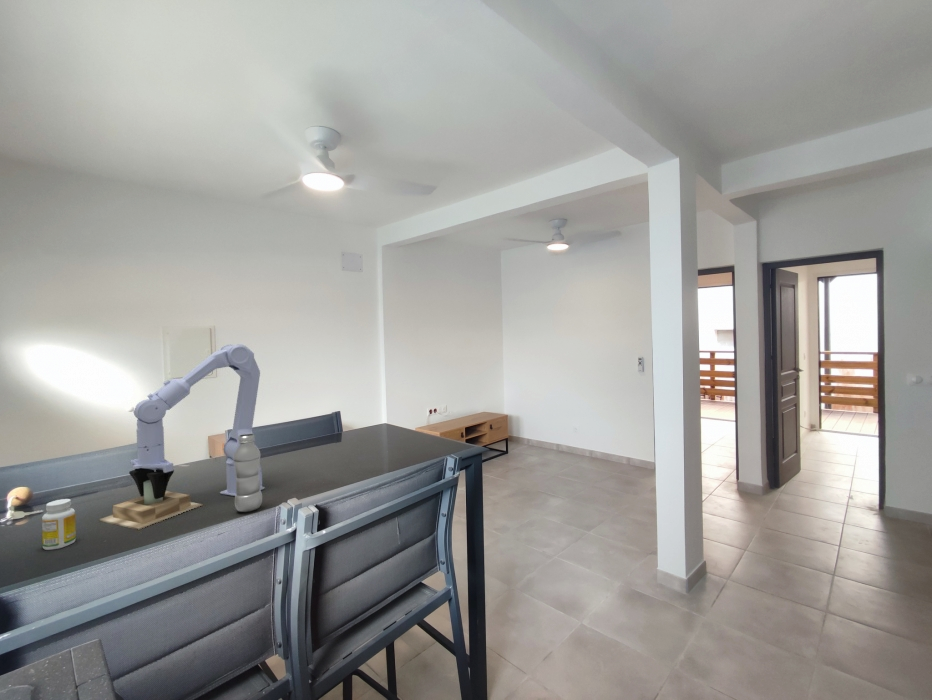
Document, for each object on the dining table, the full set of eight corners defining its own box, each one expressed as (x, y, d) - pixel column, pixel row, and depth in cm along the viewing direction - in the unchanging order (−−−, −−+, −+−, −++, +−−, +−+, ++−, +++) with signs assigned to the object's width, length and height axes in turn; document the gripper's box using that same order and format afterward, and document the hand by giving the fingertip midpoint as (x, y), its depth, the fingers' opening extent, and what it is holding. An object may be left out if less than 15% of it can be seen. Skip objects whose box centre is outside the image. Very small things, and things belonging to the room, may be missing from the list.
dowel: (167, 508, 114) (166, 478, 113) (153, 514, 110) (152, 483, 110) (154, 507, 114) (153, 478, 114) (140, 513, 111) (139, 483, 110)
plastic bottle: (268, 506, 114) (266, 433, 114) (247, 516, 108) (245, 438, 108) (249, 504, 117) (247, 431, 116) (228, 513, 110) (226, 437, 110)
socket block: (202, 505, 116) (202, 493, 116) (139, 530, 101) (138, 515, 101) (164, 498, 122) (164, 487, 122) (99, 520, 107) (98, 507, 107)
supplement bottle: (44, 553, 91) (42, 508, 91) (41, 545, 94) (39, 503, 94) (78, 543, 95) (76, 501, 95) (74, 537, 98) (72, 495, 98)
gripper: (116, 446, 111) (118, 498, 111) (152, 450, 105) (154, 505, 105) (145, 440, 117) (147, 489, 117) (180, 444, 112) (182, 495, 112)
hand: (152, 496), depth 112 cm, fingers open, 5 cm apart
